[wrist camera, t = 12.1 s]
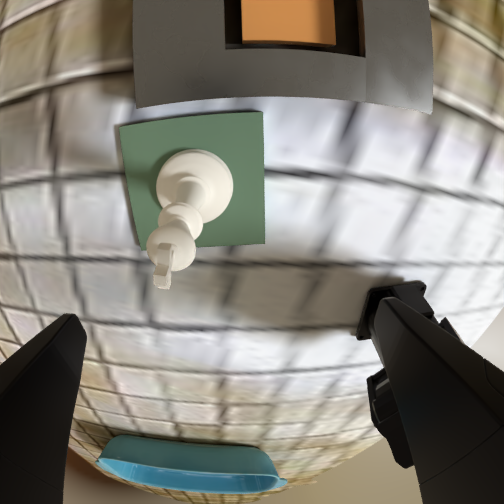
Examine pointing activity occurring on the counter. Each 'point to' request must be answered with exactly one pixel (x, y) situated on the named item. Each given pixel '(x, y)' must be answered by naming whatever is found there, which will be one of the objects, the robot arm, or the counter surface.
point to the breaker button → (288, 22)
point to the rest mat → (212, 140)
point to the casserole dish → (190, 465)
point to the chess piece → (186, 208)
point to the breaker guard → (281, 58)
